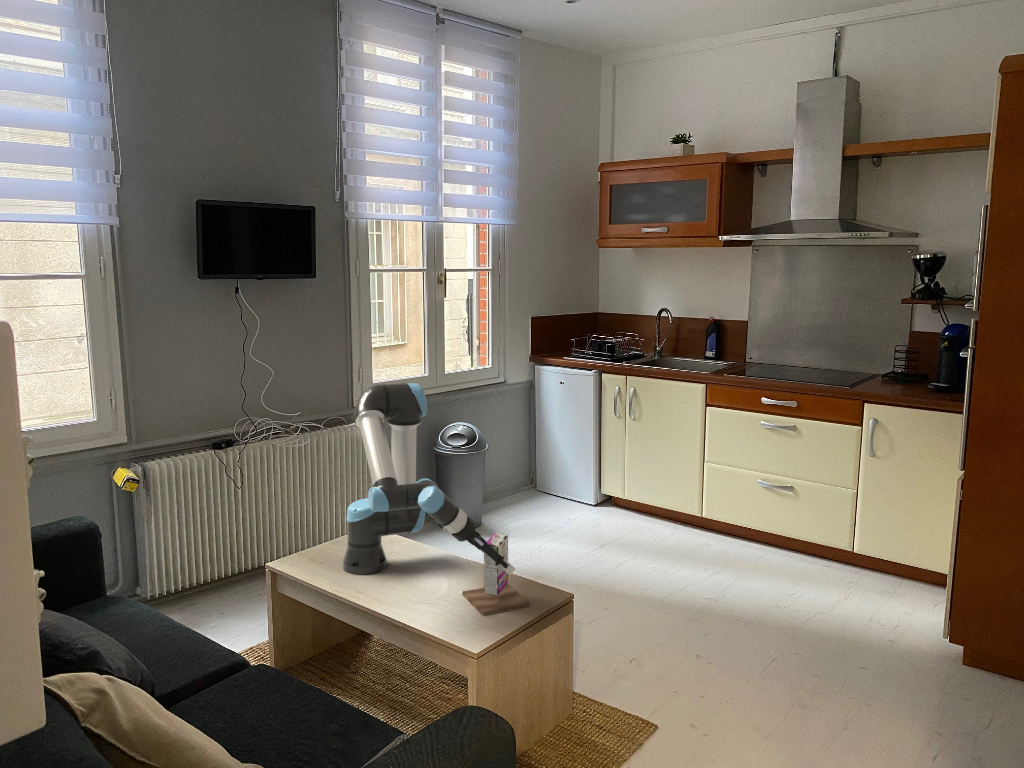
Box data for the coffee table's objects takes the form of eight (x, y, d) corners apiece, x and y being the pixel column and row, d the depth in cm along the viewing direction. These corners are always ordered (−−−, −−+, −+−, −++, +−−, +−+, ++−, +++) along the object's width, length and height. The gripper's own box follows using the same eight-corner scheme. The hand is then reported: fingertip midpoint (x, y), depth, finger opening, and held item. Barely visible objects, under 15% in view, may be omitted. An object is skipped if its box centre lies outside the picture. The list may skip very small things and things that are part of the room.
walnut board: (462, 595, 253) (462, 591, 253) (507, 586, 260) (507, 583, 260) (482, 615, 239) (482, 611, 239) (529, 606, 246) (529, 602, 246)
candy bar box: (493, 580, 255) (494, 532, 252) (508, 582, 253) (509, 533, 251) (482, 594, 244) (483, 543, 242) (498, 596, 243) (498, 545, 240)
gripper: (437, 522, 249) (481, 561, 259) (465, 546, 229) (512, 588, 238) (452, 504, 251) (496, 543, 260) (482, 526, 230) (528, 569, 239)
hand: (504, 565), depth 249 cm, fingers closed on candy bar box, 11 cm apart
